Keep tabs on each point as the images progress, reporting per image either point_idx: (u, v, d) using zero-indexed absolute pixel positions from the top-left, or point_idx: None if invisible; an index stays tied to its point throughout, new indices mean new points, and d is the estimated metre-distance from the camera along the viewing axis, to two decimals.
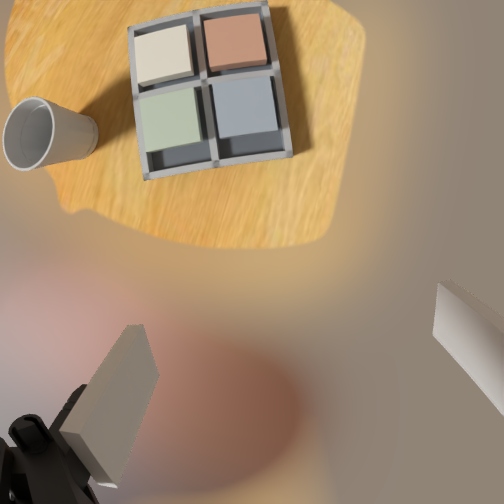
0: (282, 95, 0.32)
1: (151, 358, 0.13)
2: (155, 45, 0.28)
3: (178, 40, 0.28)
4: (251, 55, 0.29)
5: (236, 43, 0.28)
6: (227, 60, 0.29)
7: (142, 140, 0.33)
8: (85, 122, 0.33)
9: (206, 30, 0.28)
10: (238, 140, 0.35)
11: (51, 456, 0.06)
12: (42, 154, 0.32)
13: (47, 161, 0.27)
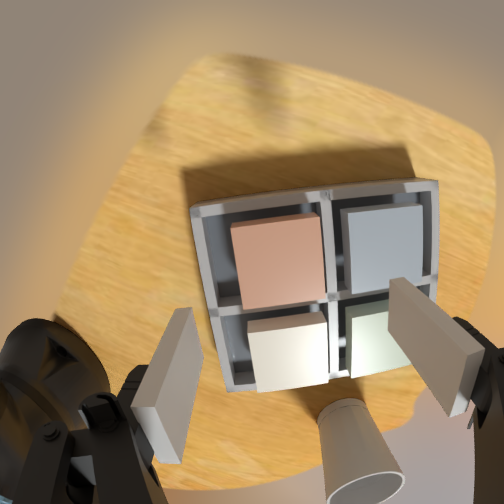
0: (361, 189, 0.23)
1: (198, 340, 0.14)
2: (277, 367, 0.24)
3: (275, 341, 0.24)
4: (312, 239, 0.22)
5: (290, 262, 0.22)
6: (318, 274, 0.22)
7: None
8: (342, 420, 0.30)
9: (262, 305, 0.23)
10: None
11: (121, 436, 0.07)
12: None
13: None
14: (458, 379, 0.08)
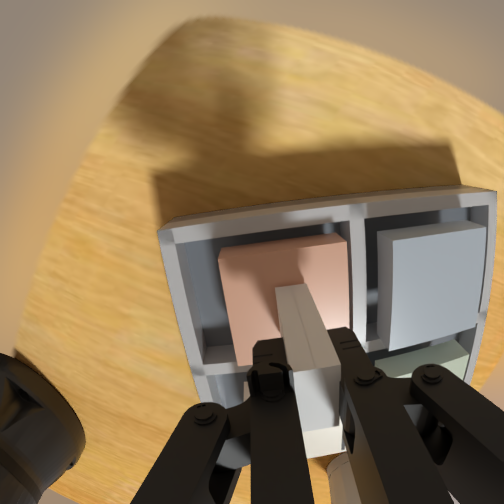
0: (405, 202, 0.15)
1: None
2: None
3: None
4: (335, 274, 0.15)
5: None
6: (341, 320, 0.16)
7: None
8: None
9: None
10: None
11: (287, 407, 0.07)
12: None
13: None
14: None
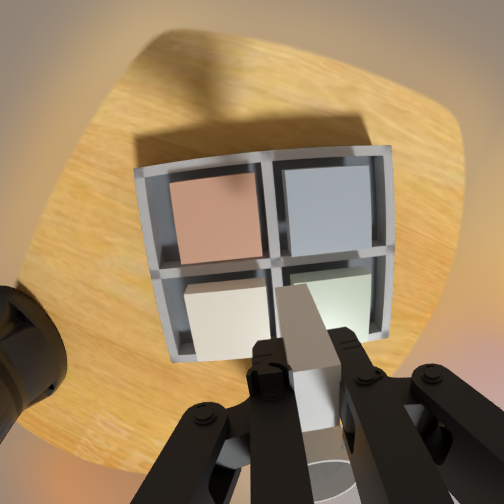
0: (304, 150, 0.23)
1: None
2: (215, 334, 0.24)
3: (212, 304, 0.23)
4: (247, 195, 0.22)
5: (225, 217, 0.23)
6: (254, 231, 0.23)
7: None
8: None
9: (199, 260, 0.23)
10: None
11: (287, 407, 0.07)
12: None
13: None
14: None
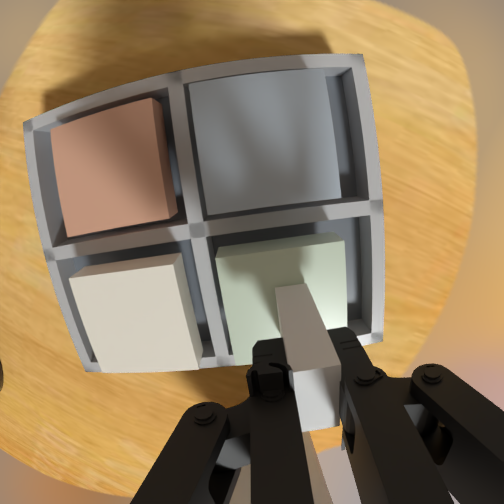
0: (229, 65, 0.14)
1: None
2: (116, 336, 0.16)
3: (103, 292, 0.15)
4: (142, 130, 0.14)
5: (115, 164, 0.14)
6: (154, 181, 0.14)
7: None
8: None
9: (87, 230, 0.15)
10: None
11: (287, 407, 0.07)
12: None
13: None
14: None
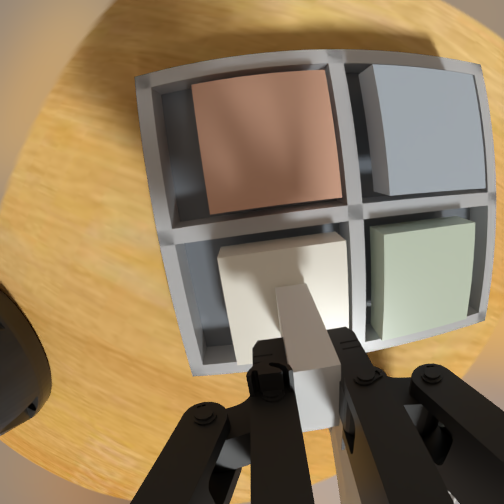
0: (385, 54, 0.13)
1: None
2: (267, 321, 0.16)
3: (262, 272, 0.15)
4: (316, 101, 0.13)
5: (283, 133, 0.13)
6: (328, 156, 0.14)
7: (434, 328, 0.17)
8: None
9: (240, 206, 0.14)
10: None
11: (287, 407, 0.07)
12: None
13: None
14: None
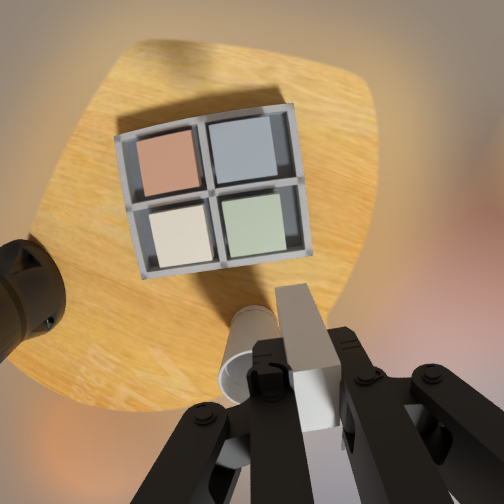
0: (227, 113, 0.31)
1: None
2: (171, 244, 0.34)
3: (167, 220, 0.33)
4: (186, 145, 0.31)
5: (173, 160, 0.32)
6: (192, 168, 0.32)
7: (271, 256, 0.36)
8: (243, 318, 0.38)
9: (156, 192, 0.32)
10: None
11: (286, 407, 0.07)
12: None
13: None
14: None
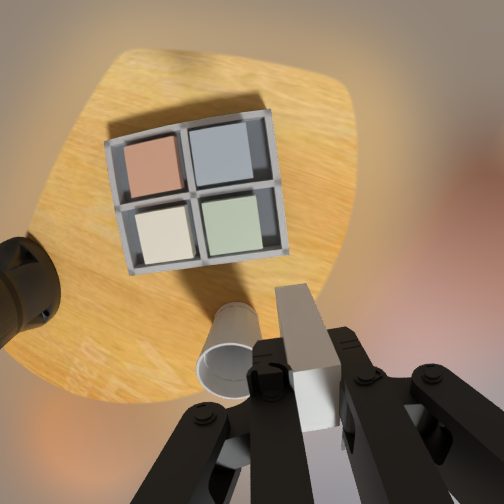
0: (207, 119, 0.33)
1: None
2: (155, 242, 0.36)
3: (151, 220, 0.35)
4: (169, 150, 0.33)
5: (157, 164, 0.34)
6: (174, 172, 0.34)
7: (249, 255, 0.38)
8: (224, 314, 0.40)
9: (142, 194, 0.34)
10: (253, 161, 0.37)
11: (287, 407, 0.07)
12: (251, 358, 0.40)
13: None
14: None
